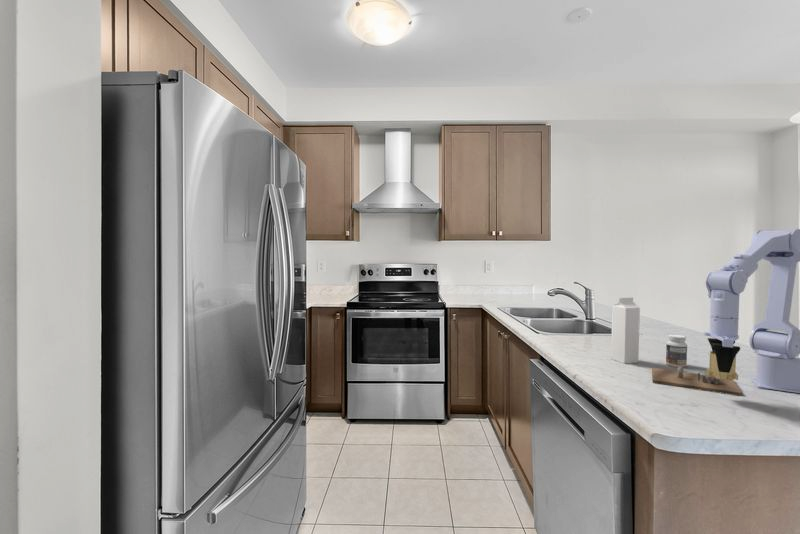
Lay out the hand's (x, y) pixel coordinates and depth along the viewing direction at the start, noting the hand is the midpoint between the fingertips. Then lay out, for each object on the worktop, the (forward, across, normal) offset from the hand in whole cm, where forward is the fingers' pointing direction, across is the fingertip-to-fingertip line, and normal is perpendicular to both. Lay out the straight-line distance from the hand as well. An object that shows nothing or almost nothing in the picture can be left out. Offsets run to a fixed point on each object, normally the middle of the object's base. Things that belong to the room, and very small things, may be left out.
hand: (722, 369), depth 105 cm
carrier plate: (+8, -12, -5) cm, 15 cm away
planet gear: (+2, 0, 0) cm, 2 cm away
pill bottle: (+8, -30, -8) cm, 32 cm away
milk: (+8, -27, -23) cm, 36 cm away
